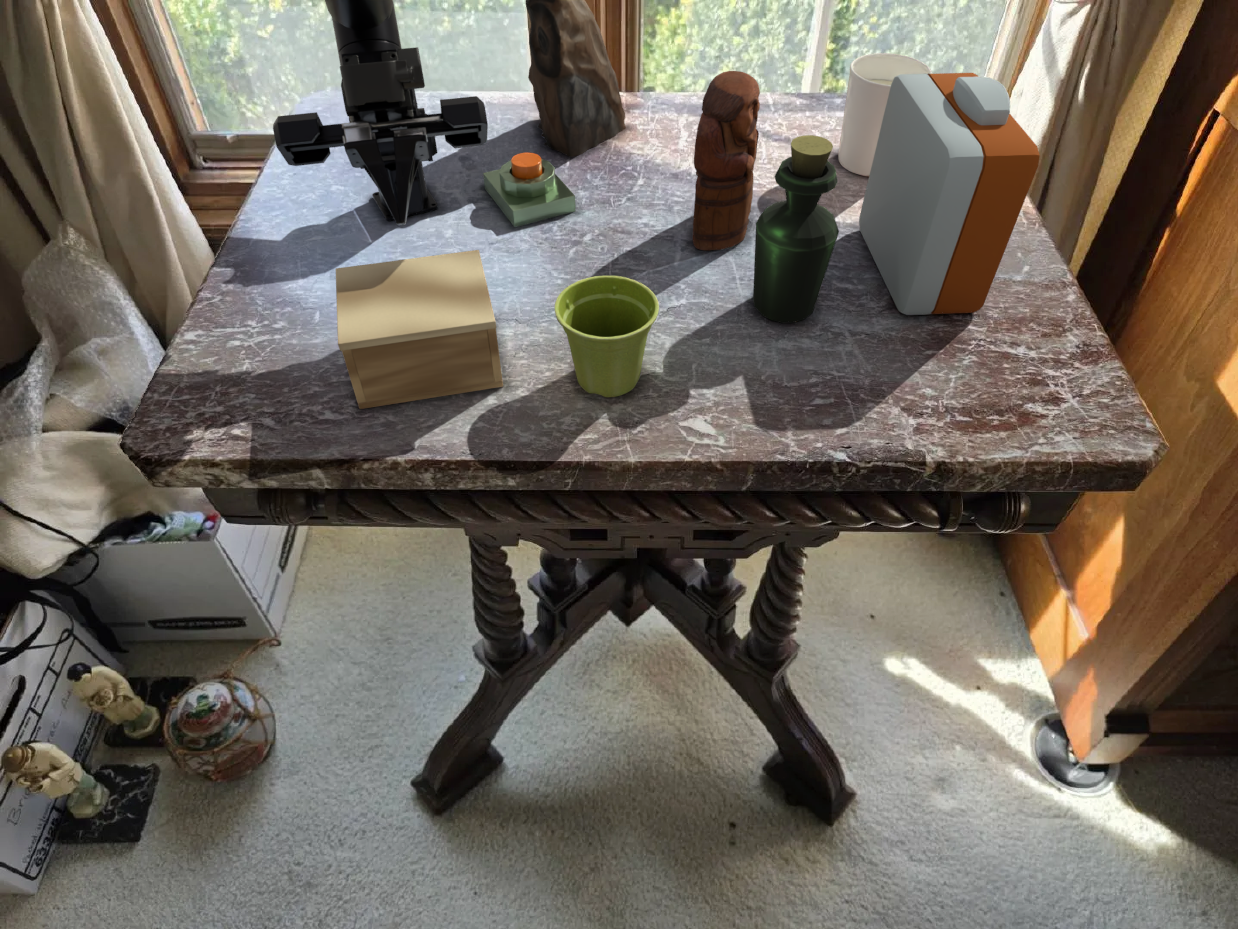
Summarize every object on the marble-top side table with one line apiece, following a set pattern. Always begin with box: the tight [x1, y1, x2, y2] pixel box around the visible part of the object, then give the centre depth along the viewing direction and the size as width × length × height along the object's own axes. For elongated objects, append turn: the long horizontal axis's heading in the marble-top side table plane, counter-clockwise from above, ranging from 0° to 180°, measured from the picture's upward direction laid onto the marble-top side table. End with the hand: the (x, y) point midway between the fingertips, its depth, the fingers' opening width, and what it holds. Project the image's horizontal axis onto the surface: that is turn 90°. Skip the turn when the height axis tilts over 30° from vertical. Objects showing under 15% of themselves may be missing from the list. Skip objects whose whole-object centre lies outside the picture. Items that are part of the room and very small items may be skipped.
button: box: [510, 151, 542, 179], centre depth 102 cm, size 4×4×2 cm
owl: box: [525, 0, 627, 158], centre depth 110 cm, size 13×13×20 cm
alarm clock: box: [858, 72, 1041, 316], centre depth 88 cm, size 18×9×21 cm, turn 4°
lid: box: [335, 249, 497, 352], centre depth 78 cm, size 12×14×1 cm
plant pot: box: [554, 275, 660, 398], centre depth 80 cm, size 9×9×9 cm
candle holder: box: [837, 52, 933, 177], centre depth 108 cm, size 10×10×12 cm
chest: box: [341, 327, 504, 410], centre depth 81 cm, size 11×14×8 cm
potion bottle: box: [752, 134, 840, 324], centre depth 84 cm, size 8×8×18 cm
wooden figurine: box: [692, 70, 761, 251], centre depth 94 cm, size 12×6×18 cm, turn 164°
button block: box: [482, 158, 576, 228], centre depth 104 cm, size 10×8×4 cm
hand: (401, 224), depth 79 cm, fingers closed
